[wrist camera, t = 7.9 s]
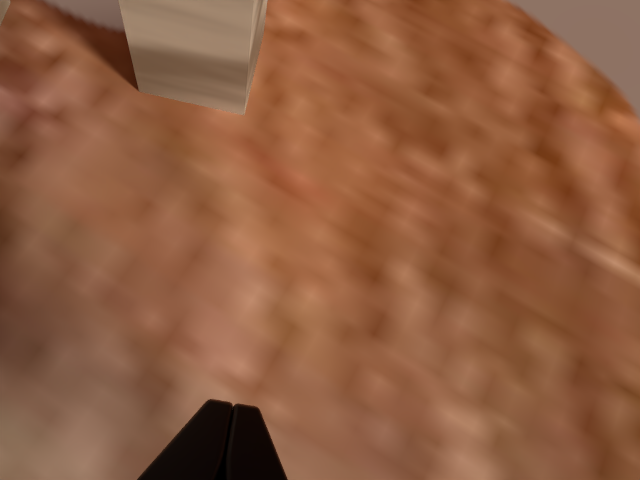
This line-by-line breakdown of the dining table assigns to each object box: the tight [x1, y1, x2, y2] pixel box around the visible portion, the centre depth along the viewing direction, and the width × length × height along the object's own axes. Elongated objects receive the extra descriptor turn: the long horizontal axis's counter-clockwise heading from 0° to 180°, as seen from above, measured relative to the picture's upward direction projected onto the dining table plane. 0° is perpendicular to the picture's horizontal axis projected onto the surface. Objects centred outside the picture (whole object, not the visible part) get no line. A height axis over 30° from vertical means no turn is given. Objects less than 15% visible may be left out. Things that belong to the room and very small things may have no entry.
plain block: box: [118, 0, 267, 115], centre depth 24 cm, size 5×5×8 cm
